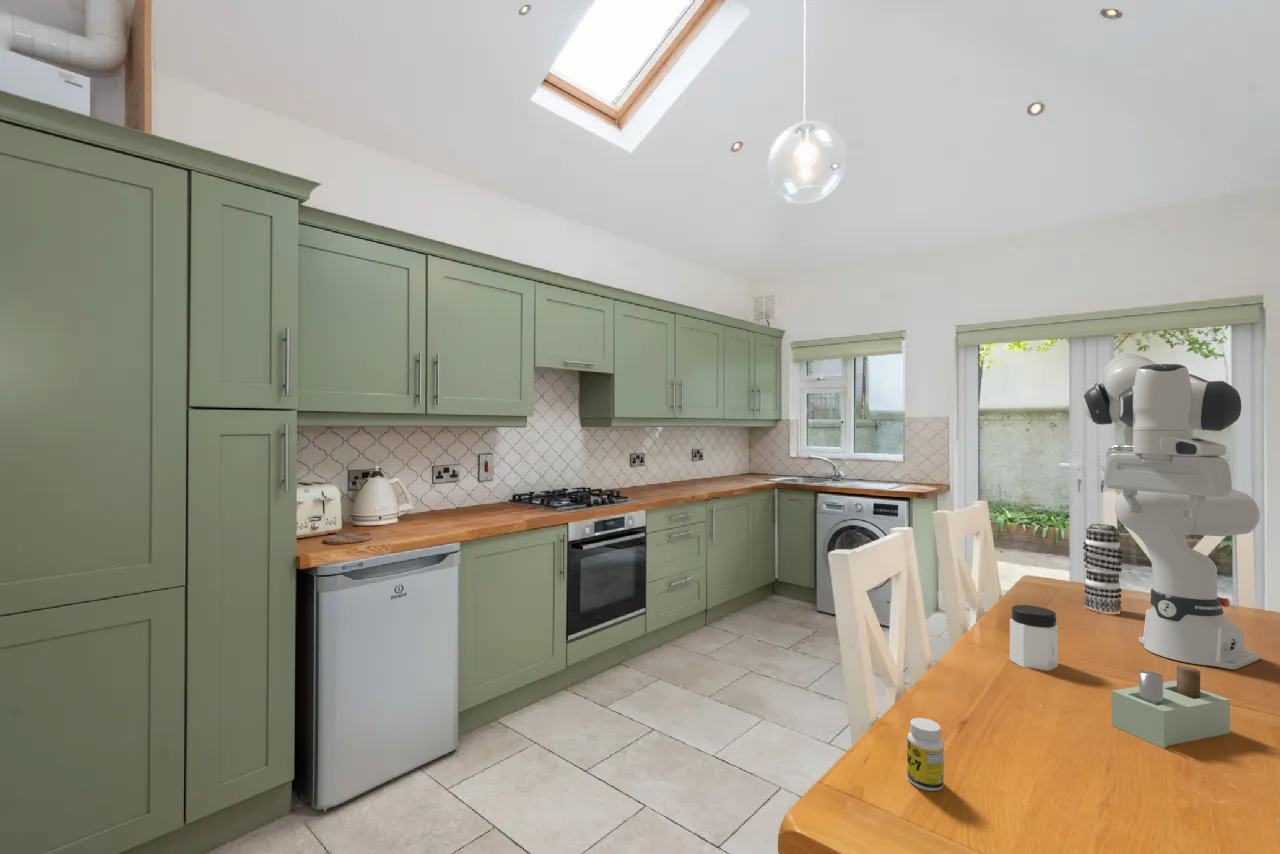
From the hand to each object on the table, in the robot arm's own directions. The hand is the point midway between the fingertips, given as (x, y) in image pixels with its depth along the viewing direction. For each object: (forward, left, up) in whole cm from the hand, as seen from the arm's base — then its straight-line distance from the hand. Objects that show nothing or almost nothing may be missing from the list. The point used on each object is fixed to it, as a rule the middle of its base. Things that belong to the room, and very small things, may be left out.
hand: (1162, 515), depth 115 cm
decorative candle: (-48, -45, -35) cm, 75 cm away
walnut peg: (+10, +10, -35) cm, 38 cm away
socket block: (+15, +10, -35) cm, 39 cm away
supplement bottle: (+67, +11, -35) cm, 77 cm away
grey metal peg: (+19, +10, -35) cm, 41 cm away
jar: (+10, -19, -35) cm, 41 cm away
